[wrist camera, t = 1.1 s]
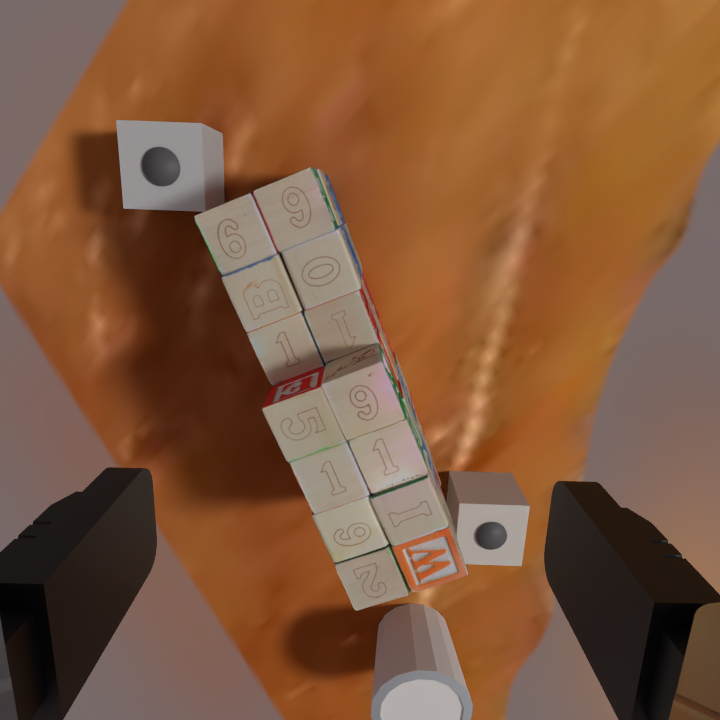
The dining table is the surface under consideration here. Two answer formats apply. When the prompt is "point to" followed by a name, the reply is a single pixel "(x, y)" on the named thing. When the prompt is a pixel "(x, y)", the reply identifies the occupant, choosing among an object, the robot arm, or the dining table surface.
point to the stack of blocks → (335, 388)
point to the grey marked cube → (170, 165)
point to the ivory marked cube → (488, 517)
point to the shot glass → (417, 668)
